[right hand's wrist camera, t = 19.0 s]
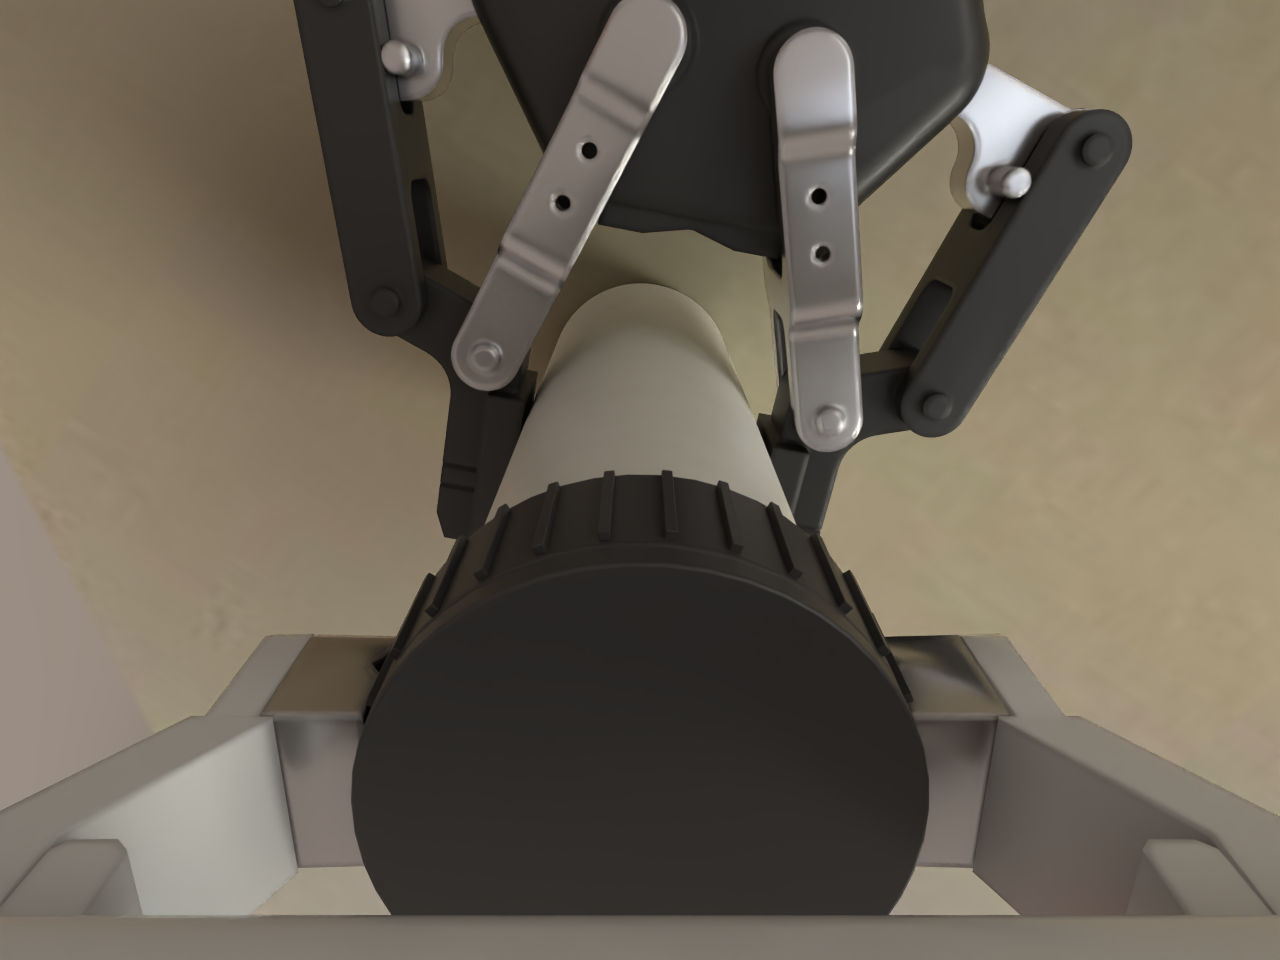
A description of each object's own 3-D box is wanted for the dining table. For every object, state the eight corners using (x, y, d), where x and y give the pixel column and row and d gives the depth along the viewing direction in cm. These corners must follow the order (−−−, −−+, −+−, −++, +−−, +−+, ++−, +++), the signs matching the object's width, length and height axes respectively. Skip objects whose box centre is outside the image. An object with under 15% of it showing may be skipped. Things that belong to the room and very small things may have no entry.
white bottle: (517, 380, 24) (313, 791, 9) (630, 244, 23) (610, 461, 8) (649, 486, 25) (662, 1011, 10) (764, 362, 24) (973, 750, 9)
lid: (946, 784, 11) (1016, 931, 9) (538, 933, 12) (517, 1098, 10) (771, 379, 9) (809, 448, 7) (306, 588, 10) (222, 703, 8)
